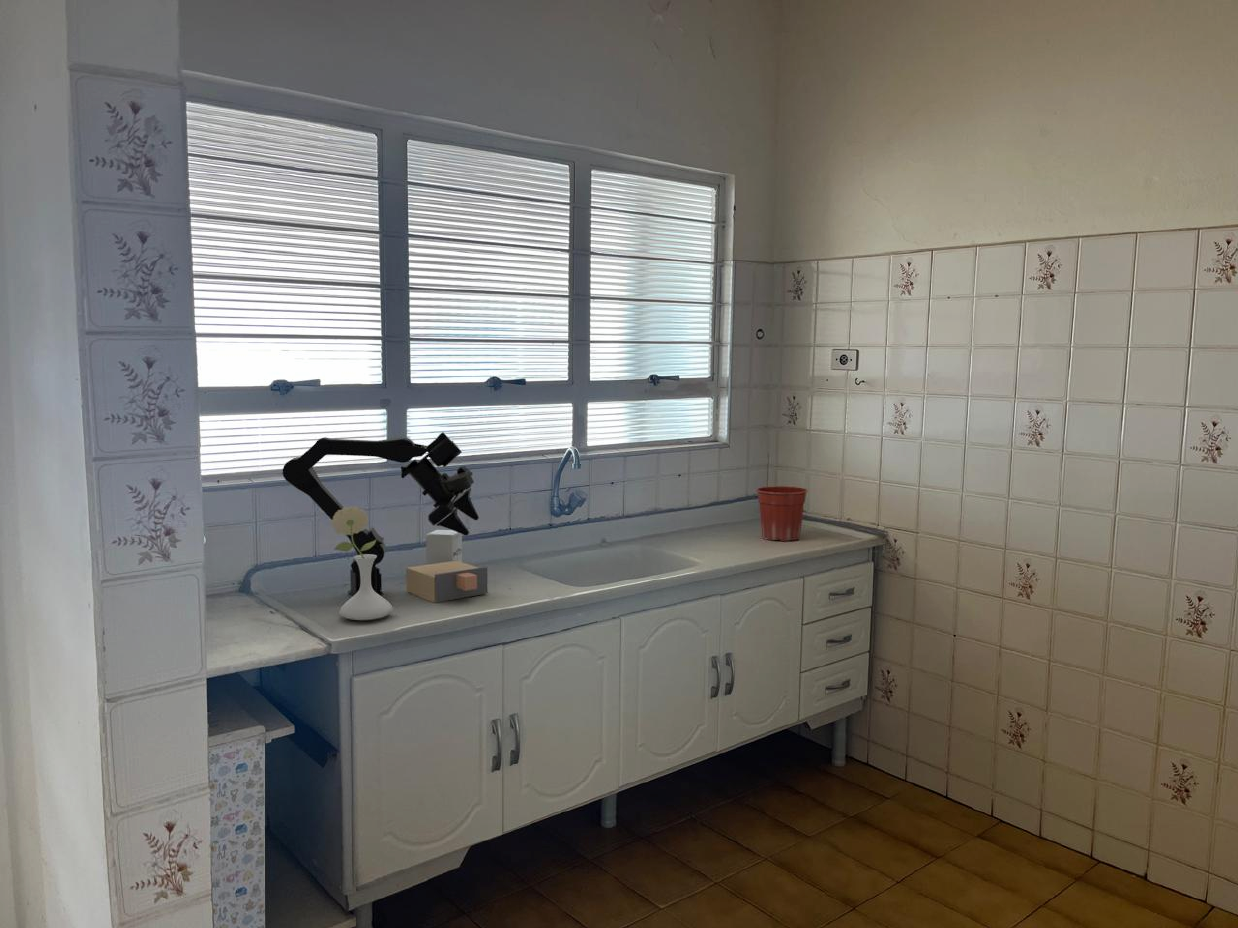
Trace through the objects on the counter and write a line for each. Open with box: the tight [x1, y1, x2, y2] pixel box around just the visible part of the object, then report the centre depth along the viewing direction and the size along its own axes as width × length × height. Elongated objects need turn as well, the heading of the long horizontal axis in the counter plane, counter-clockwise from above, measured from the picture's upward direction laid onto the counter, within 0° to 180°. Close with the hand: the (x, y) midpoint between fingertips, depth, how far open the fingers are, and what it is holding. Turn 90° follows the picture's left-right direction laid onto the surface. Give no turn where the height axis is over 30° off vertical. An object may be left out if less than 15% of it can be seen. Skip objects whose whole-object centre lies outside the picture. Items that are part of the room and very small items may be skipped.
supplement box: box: [425, 529, 463, 565], centre depth 251 cm, size 7×7×13 cm
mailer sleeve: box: [405, 561, 487, 604], centre depth 237 cm, size 14×14×6 cm
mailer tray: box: [435, 566, 489, 603], centre depth 235 cm, size 14×19×6 cm
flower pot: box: [755, 485, 809, 542], centre depth 312 cm, size 16×16×16 cm
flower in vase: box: [330, 505, 394, 621], centre depth 212 cm, size 13×11×25 cm
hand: (472, 526), depth 238 cm, fingers open, 9 cm apart
